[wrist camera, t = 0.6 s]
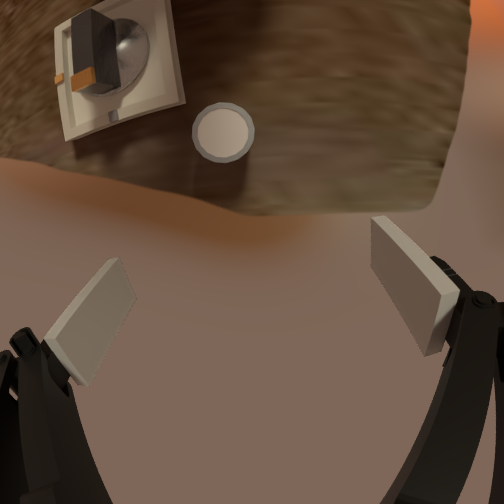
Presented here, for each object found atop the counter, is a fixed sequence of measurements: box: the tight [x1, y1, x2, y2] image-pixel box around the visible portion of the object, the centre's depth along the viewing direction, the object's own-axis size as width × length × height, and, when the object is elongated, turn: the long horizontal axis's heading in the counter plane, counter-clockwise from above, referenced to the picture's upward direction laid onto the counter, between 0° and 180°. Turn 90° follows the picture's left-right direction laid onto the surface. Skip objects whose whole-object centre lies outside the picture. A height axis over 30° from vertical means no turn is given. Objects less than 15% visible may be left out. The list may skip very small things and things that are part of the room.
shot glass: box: [192, 103, 255, 163], centre depth 31 cm, size 7×7×7 cm
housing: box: [55, 0, 186, 142], centre depth 28 cm, size 20×18×4 cm
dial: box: [70, 8, 150, 97], centre depth 24 cm, size 12×12×8 cm
